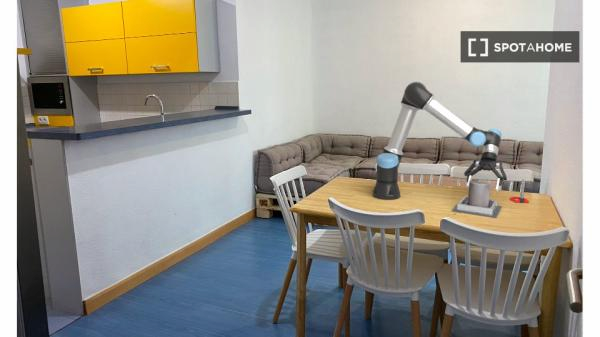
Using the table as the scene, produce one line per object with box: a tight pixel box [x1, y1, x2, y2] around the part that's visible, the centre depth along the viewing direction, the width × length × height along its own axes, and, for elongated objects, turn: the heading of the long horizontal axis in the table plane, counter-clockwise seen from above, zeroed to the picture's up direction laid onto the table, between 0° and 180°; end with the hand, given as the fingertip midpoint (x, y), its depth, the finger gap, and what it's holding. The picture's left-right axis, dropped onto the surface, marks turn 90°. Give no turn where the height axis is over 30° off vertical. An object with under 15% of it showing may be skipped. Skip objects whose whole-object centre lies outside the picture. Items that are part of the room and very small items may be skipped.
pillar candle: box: [467, 178, 492, 208], centre depth 202 cm, size 10×10×15 cm
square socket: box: [451, 195, 503, 219], centre depth 203 cm, size 20×18×4 cm
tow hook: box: [509, 178, 530, 204], centre depth 216 cm, size 8×13×9 cm
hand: (482, 189), depth 207 cm, fingers open, 13 cm apart
